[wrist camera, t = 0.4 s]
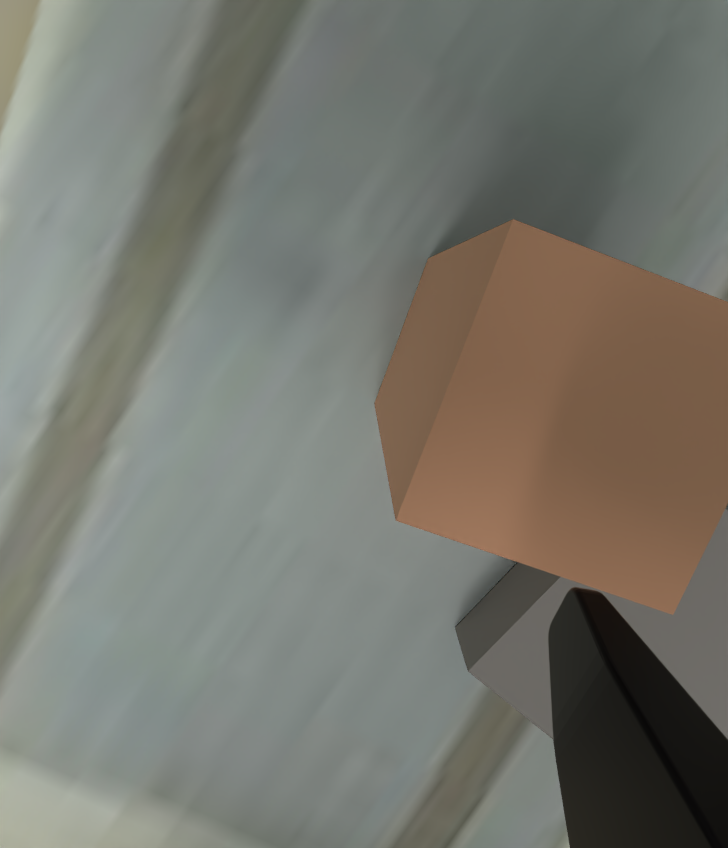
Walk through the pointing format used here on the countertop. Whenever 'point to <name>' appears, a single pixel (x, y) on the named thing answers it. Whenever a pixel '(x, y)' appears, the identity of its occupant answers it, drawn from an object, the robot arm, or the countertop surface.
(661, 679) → the robot arm
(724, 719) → the plinth
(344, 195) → the countertop surface
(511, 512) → the tall block
